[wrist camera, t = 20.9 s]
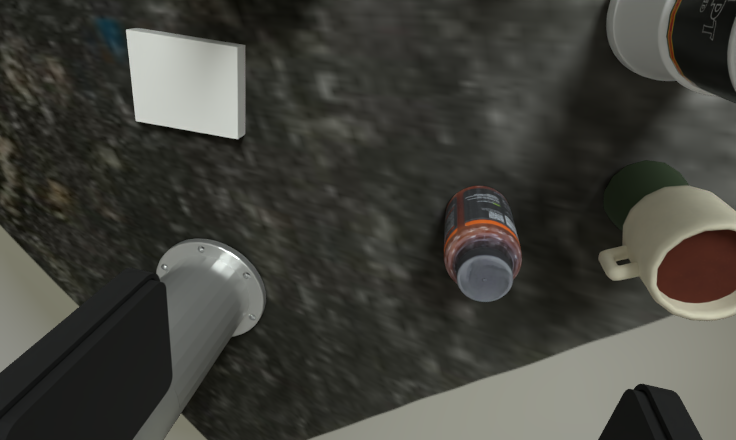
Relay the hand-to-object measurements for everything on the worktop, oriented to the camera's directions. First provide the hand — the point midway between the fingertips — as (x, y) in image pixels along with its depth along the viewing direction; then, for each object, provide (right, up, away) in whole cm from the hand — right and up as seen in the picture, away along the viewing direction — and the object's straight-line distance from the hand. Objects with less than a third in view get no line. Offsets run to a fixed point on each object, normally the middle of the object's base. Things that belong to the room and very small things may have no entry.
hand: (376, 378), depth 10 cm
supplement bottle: (+10, +4, +34) cm, 36 cm away
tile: (-11, +15, +32) cm, 37 cm away
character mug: (+23, +6, +31) cm, 39 cm away
